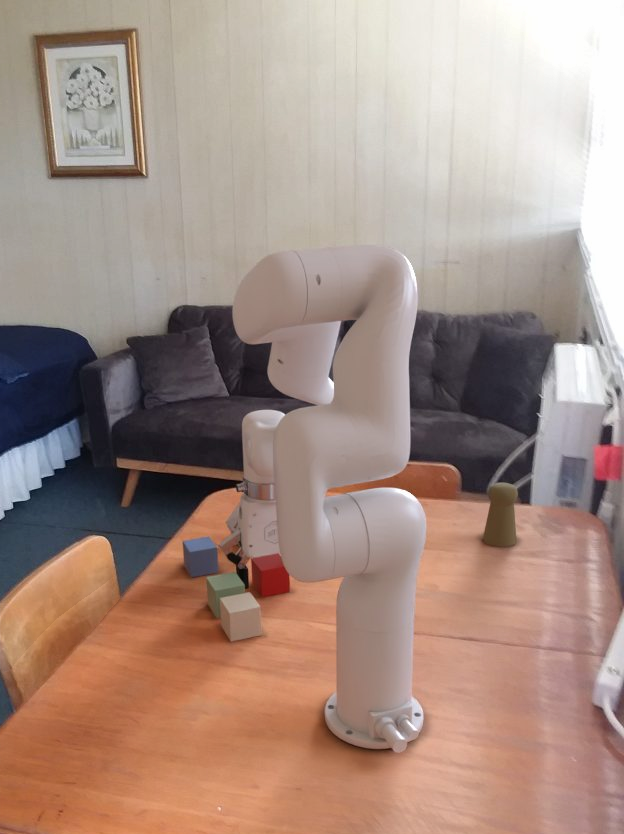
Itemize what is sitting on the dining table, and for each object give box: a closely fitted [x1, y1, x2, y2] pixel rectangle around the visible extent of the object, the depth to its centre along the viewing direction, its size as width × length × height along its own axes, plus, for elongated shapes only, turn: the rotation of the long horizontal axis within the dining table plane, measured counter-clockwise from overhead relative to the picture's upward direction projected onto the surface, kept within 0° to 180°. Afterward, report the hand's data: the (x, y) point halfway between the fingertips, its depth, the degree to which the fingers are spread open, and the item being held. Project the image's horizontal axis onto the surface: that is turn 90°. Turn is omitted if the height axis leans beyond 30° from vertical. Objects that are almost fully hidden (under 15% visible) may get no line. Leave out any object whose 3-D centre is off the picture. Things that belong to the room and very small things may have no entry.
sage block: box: [205, 571, 246, 619], centre depth 136 cm, size 5×5×5 cm
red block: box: [250, 554, 291, 598], centre depth 142 cm, size 5×5×5 cm
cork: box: [482, 482, 519, 548], centre depth 155 cm, size 6×6×11 cm
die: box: [225, 501, 240, 546], centre depth 158 cm, size 8×9×10 cm
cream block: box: [220, 591, 263, 643], centre depth 129 cm, size 5×5×5 cm
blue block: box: [182, 535, 219, 578], centre depth 150 cm, size 5×5×5 cm
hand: (270, 580), depth 142 cm, fingers open, 9 cm apart
